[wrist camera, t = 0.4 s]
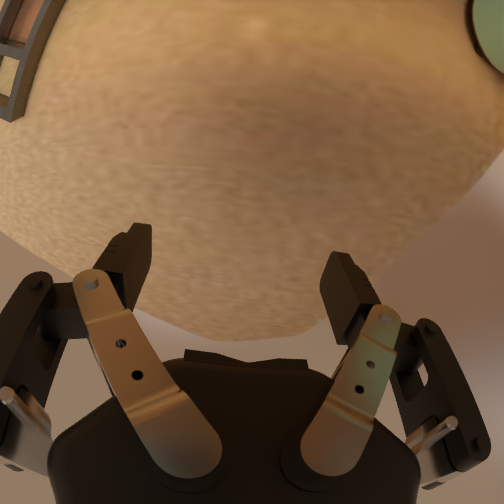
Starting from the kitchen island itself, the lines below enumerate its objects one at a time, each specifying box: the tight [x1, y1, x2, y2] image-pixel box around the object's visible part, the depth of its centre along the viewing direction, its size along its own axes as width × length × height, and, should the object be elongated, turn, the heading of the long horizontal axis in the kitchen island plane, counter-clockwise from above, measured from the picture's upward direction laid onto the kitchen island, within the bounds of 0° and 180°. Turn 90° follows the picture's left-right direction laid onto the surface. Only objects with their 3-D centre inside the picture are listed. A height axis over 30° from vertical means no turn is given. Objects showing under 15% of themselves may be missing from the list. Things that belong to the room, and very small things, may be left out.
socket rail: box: [0, 0, 66, 123], centre depth 16 cm, size 26×9×3 cm, turn 147°
